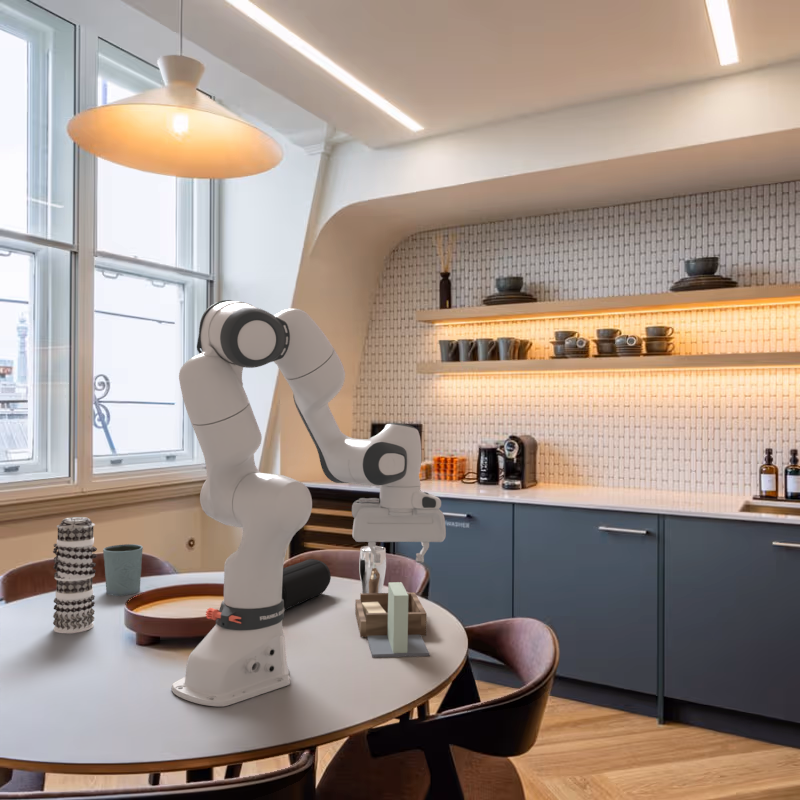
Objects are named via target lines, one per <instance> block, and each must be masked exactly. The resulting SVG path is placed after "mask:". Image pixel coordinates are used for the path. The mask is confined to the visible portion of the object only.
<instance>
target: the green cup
mask: <svg viewBox="0 0 800 800" xmlns="http://www.w3.org/2000/svg"><path fill="white" fill-rule="evenodd" d="M143 550H144V549H143V545H142V544H135V543H133V544H129V543H128V544H127V543H126V544H116V545H110V546H107V547H103V550H102V552H103V561H104V574H105V575H104V578H105V591H106V594H107V595H109V596H116V597H117V596H119V597H121V596H128V595H133V594H137V593H139V592H140V590H141V575H142V561H143V560H142V559H143Z"/></svg>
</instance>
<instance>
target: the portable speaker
mask: <svg viewBox="0 0 800 800" xmlns="http://www.w3.org/2000/svg"><path fill="white" fill-rule="evenodd" d="M331 578H332V576H331V571H330V569H329V567H328V565H327V564H326V563H324V562H323V561H321V560H318V559H314V558H310V559H306V560H303V561H300V562H298V563H295V564H294V563H293V564H291V565H289V566H287V567H286V566H285V567H283V579H282V599H283V600H284V610H285V611H286V610H288V609H291V608H292V607H294V606H297V605H300V604H302V603H304V602H306V601H308V600H311V599H313V598H315V597H317V596H319V595H321V594H323V593H324V592H326V590H327V588H328V587H329V585H330V583H331Z"/></svg>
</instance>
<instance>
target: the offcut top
mask: <svg viewBox="0 0 800 800" xmlns="http://www.w3.org/2000/svg"><path fill="white" fill-rule="evenodd" d="M362 608H363V611H364V615H365V617H366V613H386V612H385V611H384V609H383V608H382V607H381V605H380V604H379V603H378V602H362Z"/></svg>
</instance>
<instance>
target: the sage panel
mask: <svg viewBox="0 0 800 800" xmlns="http://www.w3.org/2000/svg"><path fill="white" fill-rule="evenodd" d="M387 585H388V588H387V590H388V591H387V593H388V632H387V636H388V639H389V642H390V645H391V648H392V651H393V653H407V646H408V594H407V593H408V592H407V589H406V588H405V586H404V584H403V582H401V581H400V582H399V581H397V582H395V581H394V582H388V584H387Z"/></svg>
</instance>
